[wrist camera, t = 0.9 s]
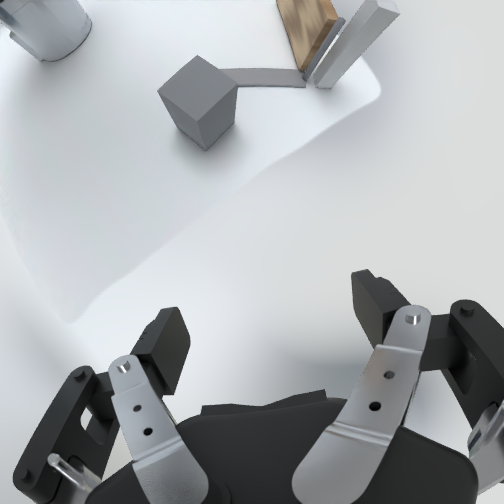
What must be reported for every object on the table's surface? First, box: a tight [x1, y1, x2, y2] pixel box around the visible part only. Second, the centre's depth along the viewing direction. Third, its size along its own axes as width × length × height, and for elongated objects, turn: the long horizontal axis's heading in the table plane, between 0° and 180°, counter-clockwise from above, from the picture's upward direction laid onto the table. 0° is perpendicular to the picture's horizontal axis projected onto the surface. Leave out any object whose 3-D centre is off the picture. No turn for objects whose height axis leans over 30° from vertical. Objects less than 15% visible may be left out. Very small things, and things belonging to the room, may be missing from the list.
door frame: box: [219, 0, 400, 89], centre depth 20 cm, size 18×2×17 cm, turn 93°
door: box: [276, 0, 338, 71], centre depth 21 cm, size 14×1×11 cm, turn 10°
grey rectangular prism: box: [157, 55, 238, 151], centre depth 24 cm, size 5×5×10 cm
